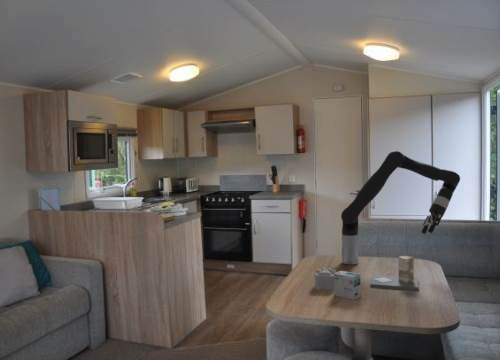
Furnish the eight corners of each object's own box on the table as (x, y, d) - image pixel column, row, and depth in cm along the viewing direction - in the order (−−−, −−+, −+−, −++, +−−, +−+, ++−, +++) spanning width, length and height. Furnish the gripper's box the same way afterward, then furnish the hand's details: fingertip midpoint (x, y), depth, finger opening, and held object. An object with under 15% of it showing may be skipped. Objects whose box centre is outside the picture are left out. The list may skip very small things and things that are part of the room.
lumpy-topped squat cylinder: (313, 289, 209) (313, 272, 209) (317, 281, 222) (317, 265, 221) (335, 291, 206) (334, 273, 206) (338, 283, 219) (337, 266, 218)
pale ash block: (406, 283, 209) (405, 259, 208) (398, 280, 213) (398, 256, 213) (413, 281, 211) (413, 257, 210) (406, 279, 215) (405, 255, 215)
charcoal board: (370, 287, 210) (370, 283, 210) (372, 277, 225) (372, 274, 225) (418, 290, 203) (418, 286, 203) (417, 280, 218) (417, 277, 218)
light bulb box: (361, 296, 197) (361, 273, 197) (354, 300, 192) (353, 277, 192) (341, 292, 205) (340, 269, 204) (333, 295, 200) (333, 273, 199)
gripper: (427, 204, 237) (414, 230, 234) (439, 201, 223) (425, 228, 220) (439, 211, 236) (427, 237, 233) (452, 208, 222) (438, 235, 219)
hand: (426, 232), depth 227 cm, fingers open, 8 cm apart
